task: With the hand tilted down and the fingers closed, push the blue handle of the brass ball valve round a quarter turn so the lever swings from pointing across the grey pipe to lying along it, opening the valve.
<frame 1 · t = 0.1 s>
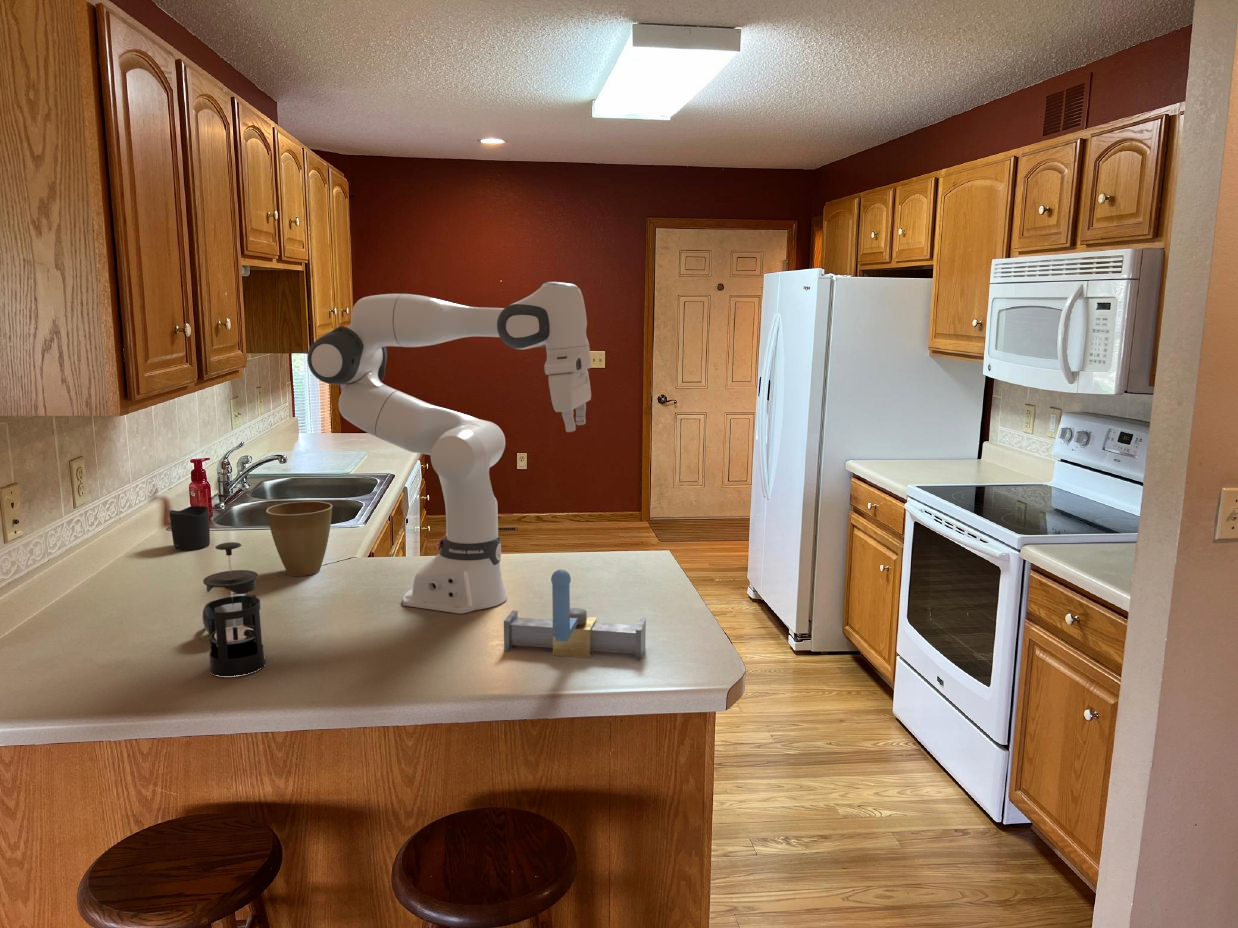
hand: (576, 428, 188), 39 cm above the table, tool pointing down, fingers open, 8 cm apart
ceramic mug: (227, 632, 180), on the table
lever: (568, 595, 164), point 12 cm above the table, hinge at 0.0°
plant pot: (303, 572, 218), on the table
pen holder: (192, 547, 239), on the table
valve pipe: (575, 650, 171), on the table
french press: (239, 667, 163), on the table
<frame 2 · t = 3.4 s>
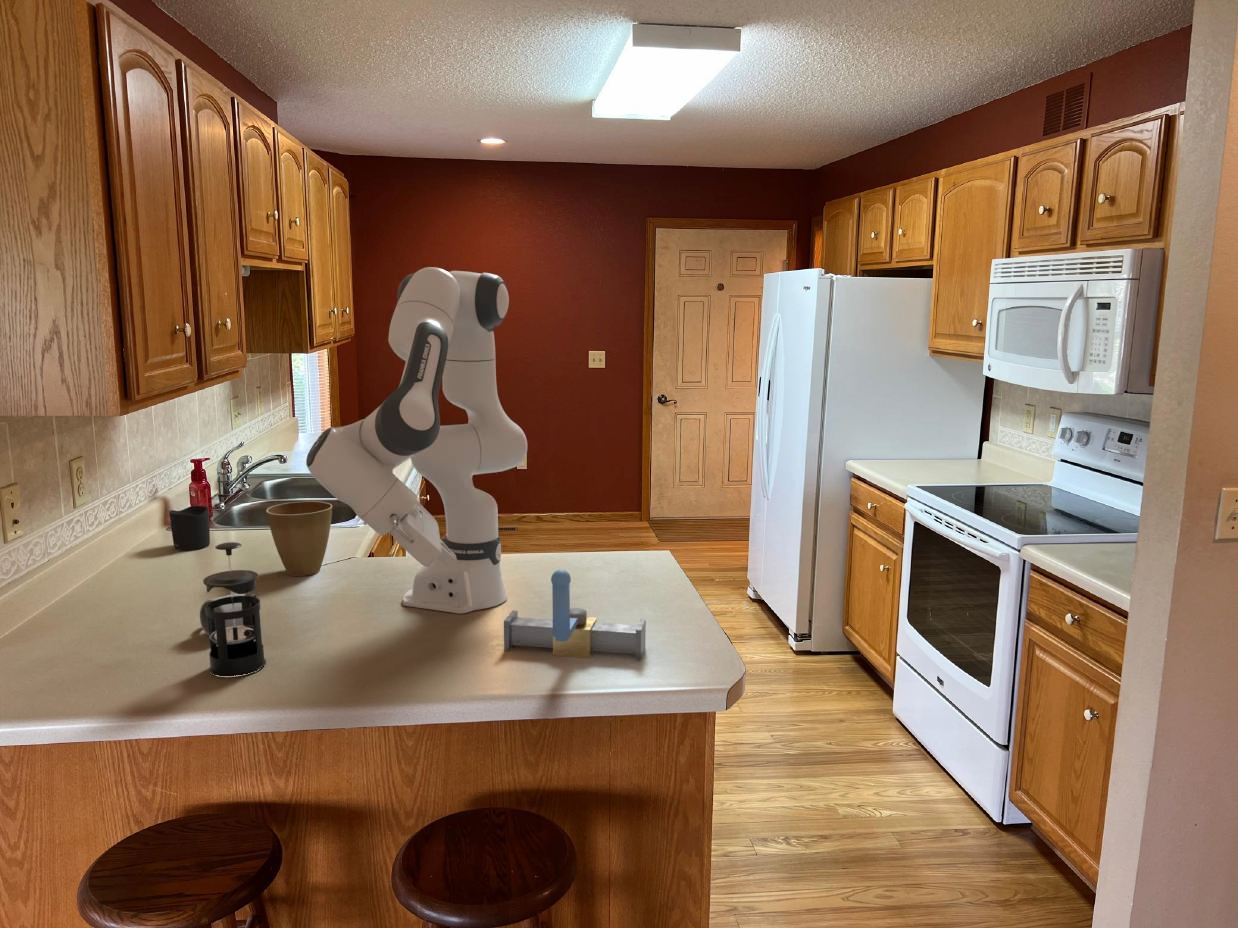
hand: (454, 562, 152), 22 cm above the table, tool tilted 45°, fingers closed
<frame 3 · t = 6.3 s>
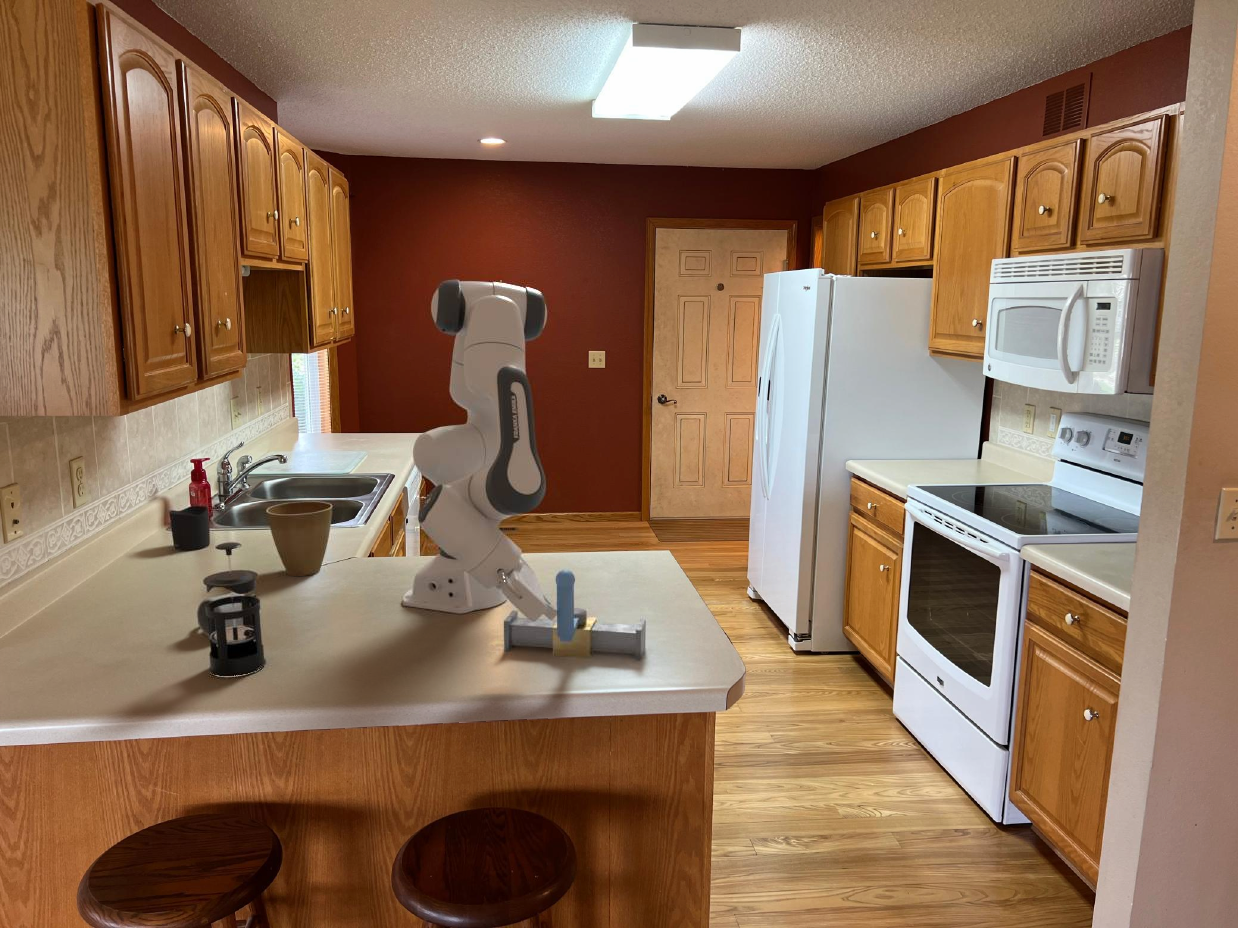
hand: (553, 614, 158), 11 cm above the table, tool tilted 45°, fingers closed, pressing on lever
lever: (570, 596, 164), point 12 cm above the table, hinge at 4.0°, touching gripper
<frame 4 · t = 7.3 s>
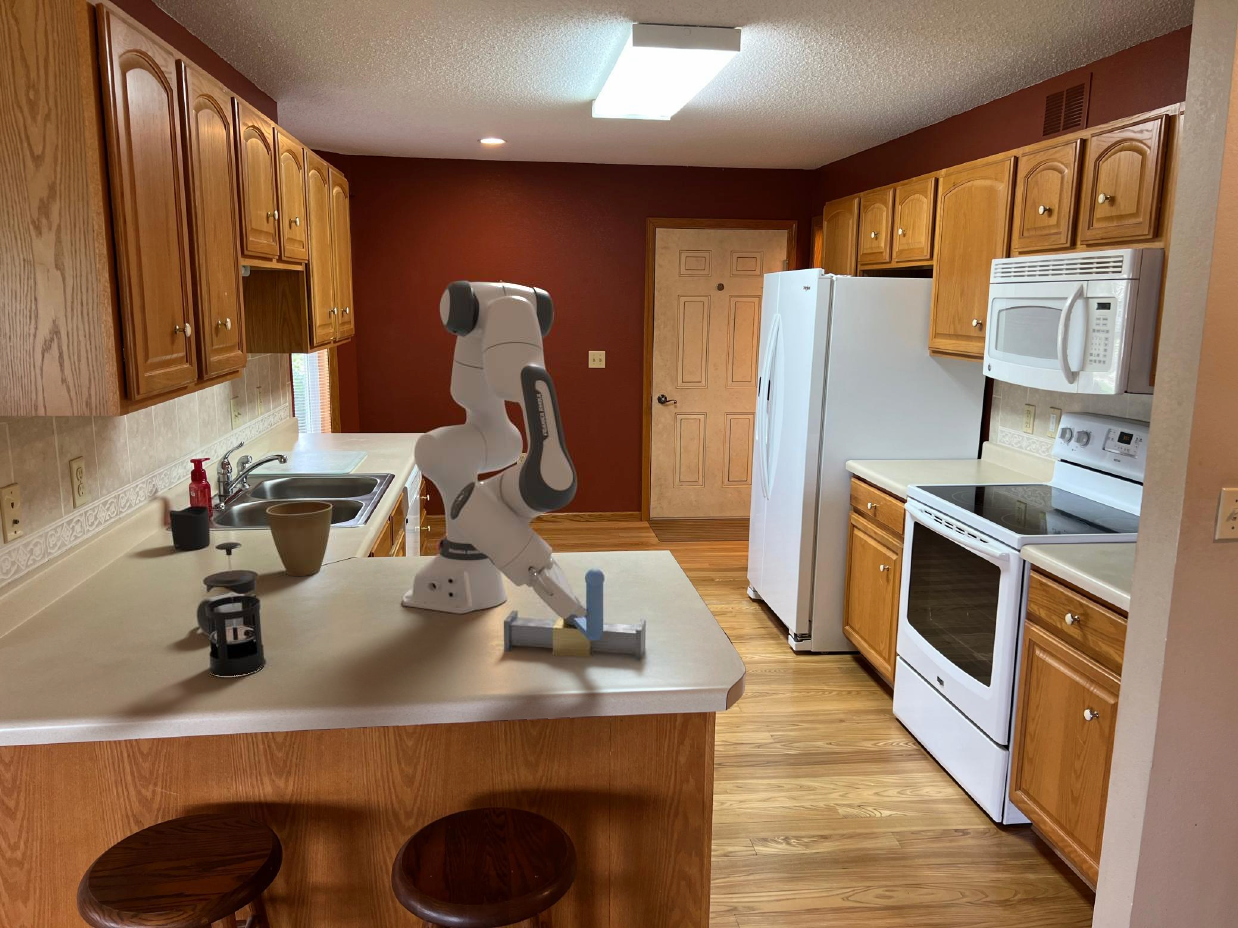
hand: (583, 612, 158), 11 cm above the table, tool tilted 45°, fingers closed, pressing on lever
lever: (584, 595, 164), point 12 cm above the table, hinge at 31.1°, touching gripper
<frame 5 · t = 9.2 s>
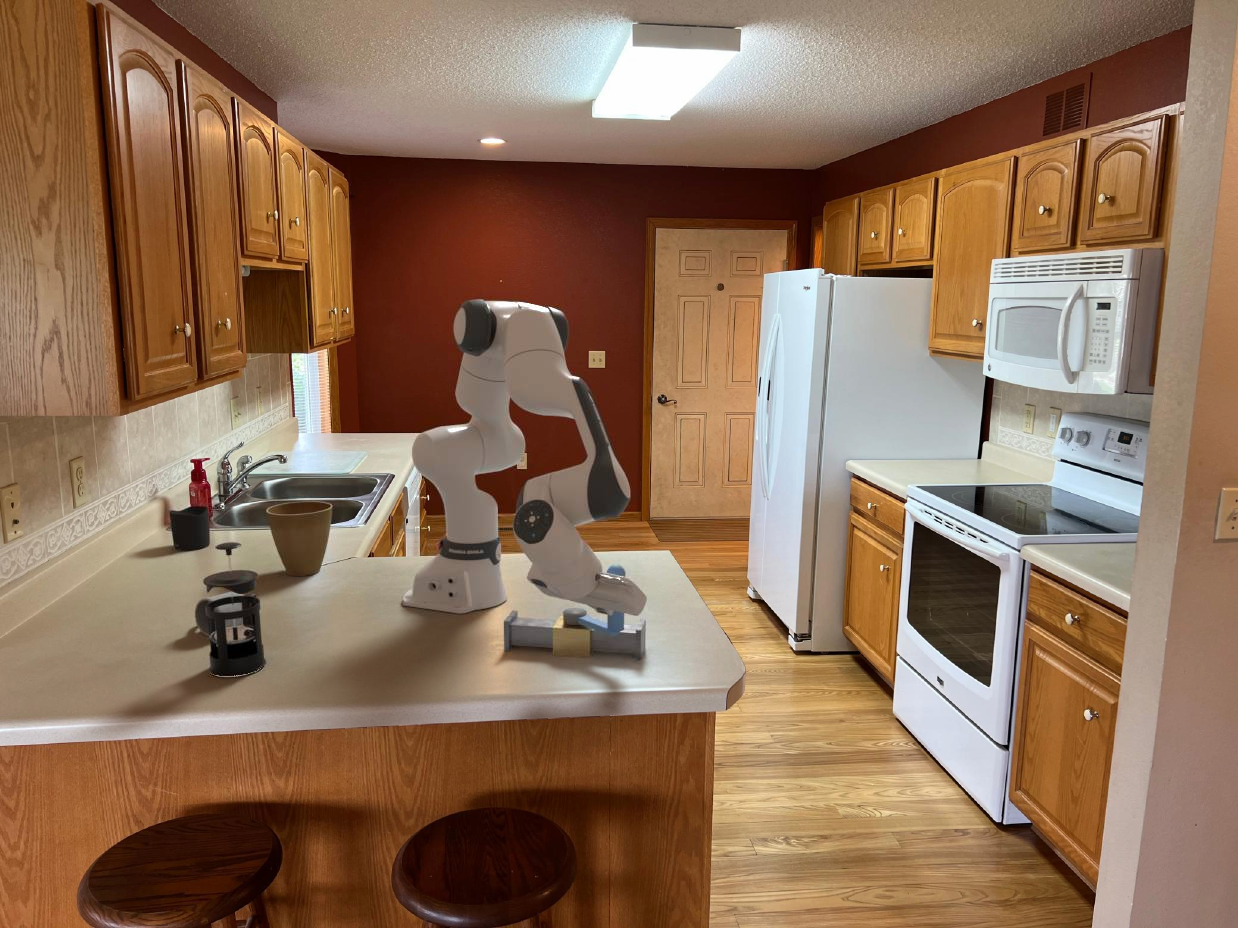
hand: (606, 610, 160), 11 cm above the table, tool tilted 45°, fingers closed
lever: (593, 593, 165), point 12 cm above the table, hinge at 54.2°, touching gripper
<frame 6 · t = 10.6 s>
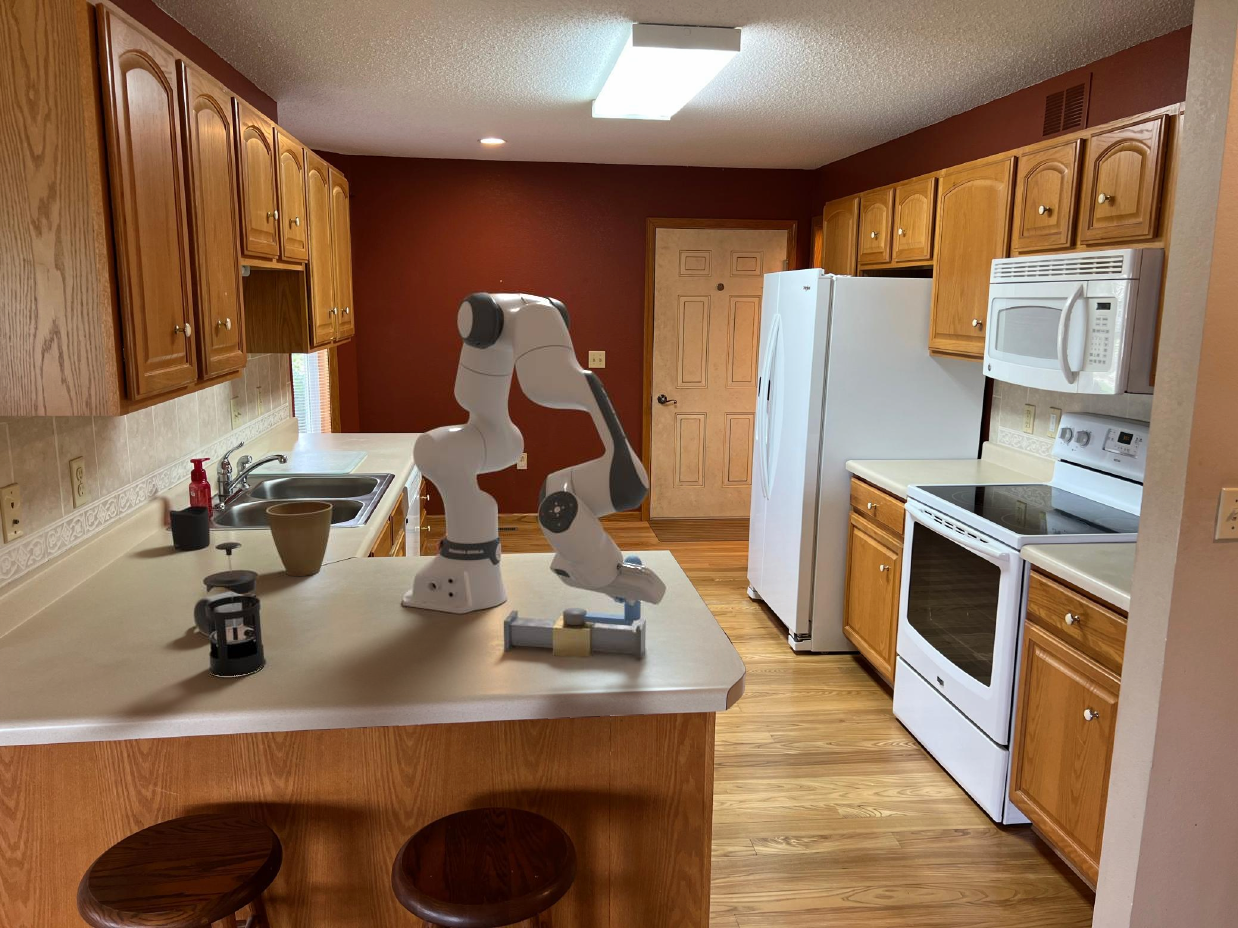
hand: (626, 600, 165), 11 cm above the table, tool tilted 45°, fingers closed, pressing on lever
lever: (602, 588, 168), point 12 cm above the table, hinge at 87.9°, touching gripper
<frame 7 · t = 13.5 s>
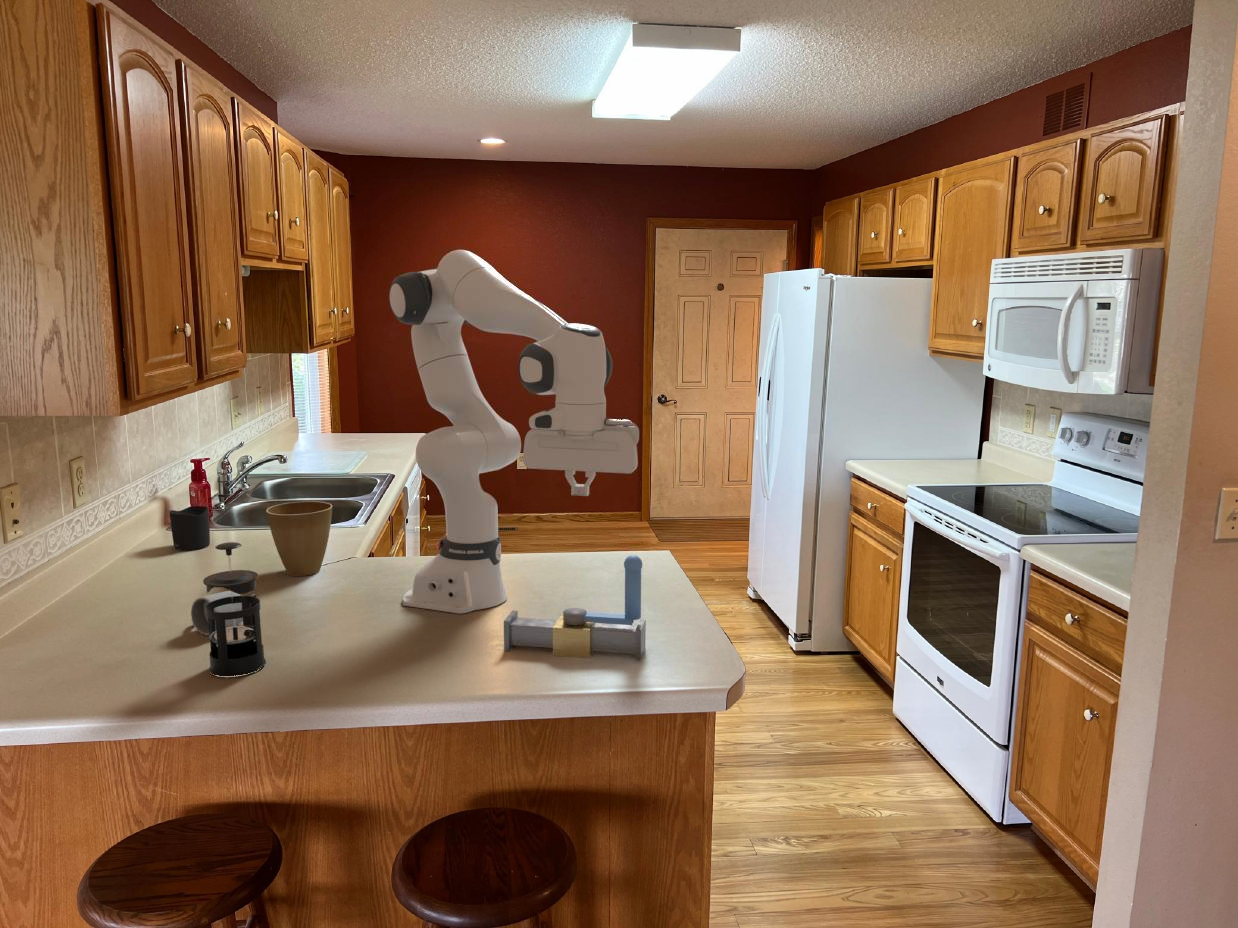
hand: (580, 495, 161), 31 cm above the table, tool pointing down, fingers closed
lever: (602, 588, 168), point 12 cm above the table, hinge at 89.7°
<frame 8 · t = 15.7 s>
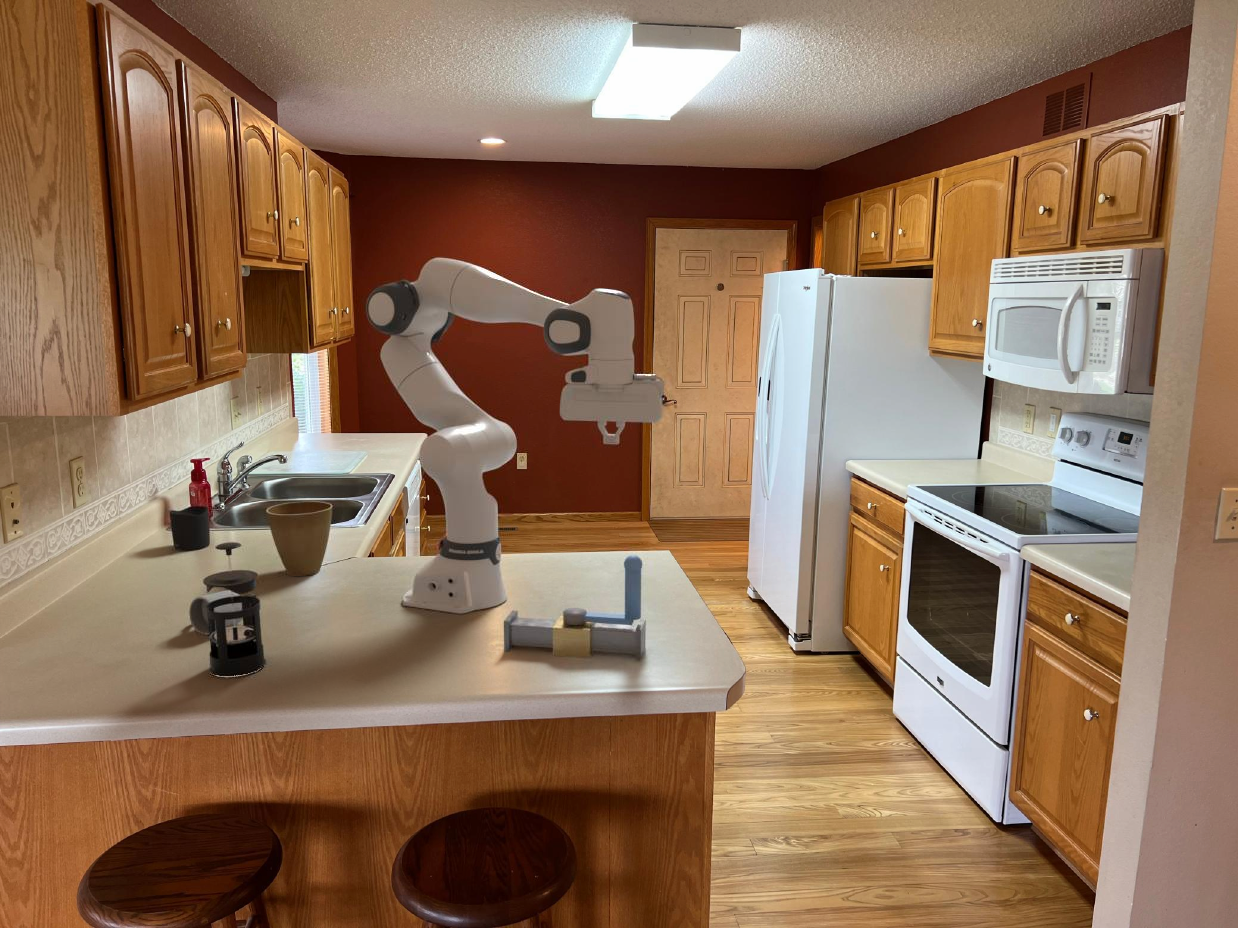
hand: (611, 443, 179), 37 cm above the table, tool pointing down, fingers closed
at the end: lever at +90° (first picture: +0°) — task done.
